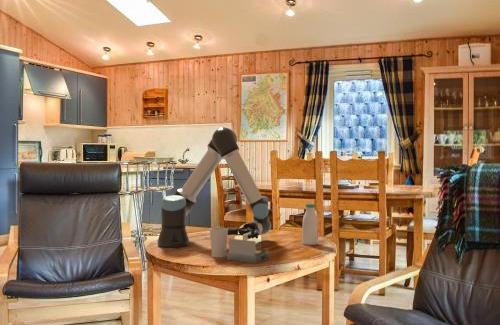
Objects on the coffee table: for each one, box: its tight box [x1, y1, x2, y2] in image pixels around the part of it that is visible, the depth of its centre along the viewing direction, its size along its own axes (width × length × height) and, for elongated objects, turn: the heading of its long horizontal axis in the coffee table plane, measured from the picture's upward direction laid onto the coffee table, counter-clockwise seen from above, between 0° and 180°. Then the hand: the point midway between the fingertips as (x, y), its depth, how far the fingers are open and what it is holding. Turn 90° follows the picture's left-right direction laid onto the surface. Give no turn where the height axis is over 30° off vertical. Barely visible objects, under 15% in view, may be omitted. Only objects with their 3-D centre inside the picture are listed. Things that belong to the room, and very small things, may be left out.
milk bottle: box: [301, 203, 319, 246], centre depth 241 cm, size 8×8×20 cm
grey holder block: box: [226, 238, 270, 265], centre depth 206 cm, size 14×12×9 cm
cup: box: [209, 226, 229, 258], centre depth 212 cm, size 8×8×12 cm
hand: (230, 236), depth 220 cm, fingers open, 13 cm apart
